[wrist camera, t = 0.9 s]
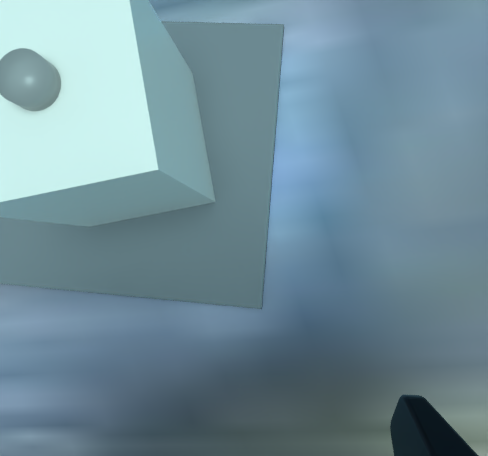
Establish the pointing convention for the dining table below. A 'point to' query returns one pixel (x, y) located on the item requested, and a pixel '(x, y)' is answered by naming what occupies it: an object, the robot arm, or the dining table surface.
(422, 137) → the dining table surface
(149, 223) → the placemat
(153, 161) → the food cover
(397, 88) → the dining table surface
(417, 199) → the dining table surface
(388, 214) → the dining table surface
